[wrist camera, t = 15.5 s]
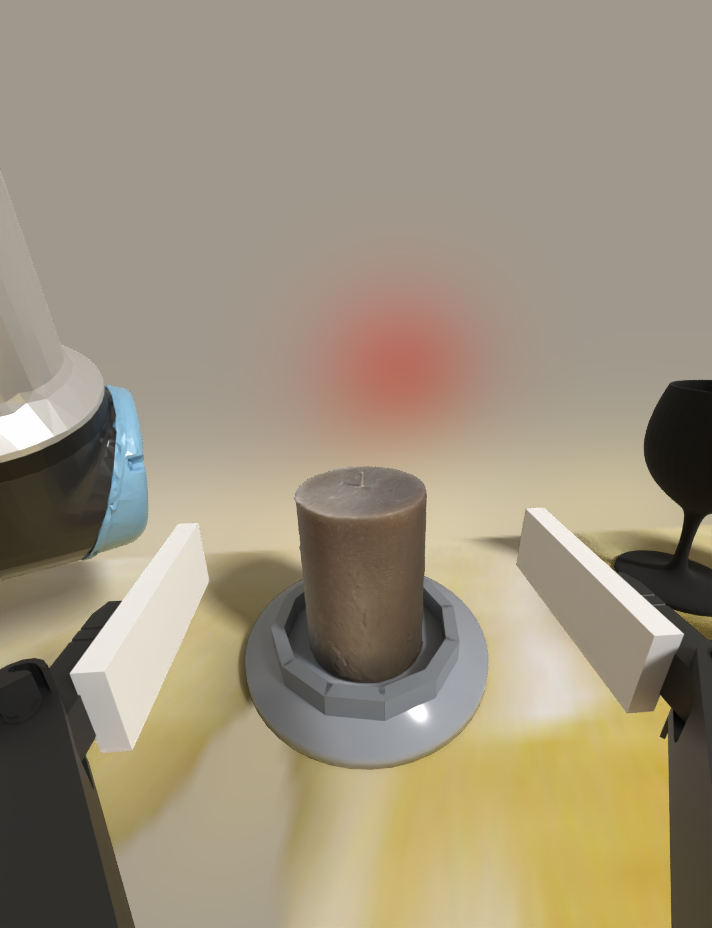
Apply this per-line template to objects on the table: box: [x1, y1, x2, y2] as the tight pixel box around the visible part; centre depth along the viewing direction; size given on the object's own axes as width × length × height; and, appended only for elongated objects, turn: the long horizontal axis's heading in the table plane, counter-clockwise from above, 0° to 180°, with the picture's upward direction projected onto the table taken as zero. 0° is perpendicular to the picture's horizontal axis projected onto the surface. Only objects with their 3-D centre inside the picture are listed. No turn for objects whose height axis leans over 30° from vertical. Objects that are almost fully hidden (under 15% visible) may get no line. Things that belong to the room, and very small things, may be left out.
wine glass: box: [615, 380, 712, 616], centre depth 36 cm, size 10×10×20 cm
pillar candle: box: [294, 467, 427, 683], centre depth 30 cm, size 10×10×15 cm
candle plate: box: [245, 576, 488, 769], centre depth 32 cm, size 20×20×3 cm
